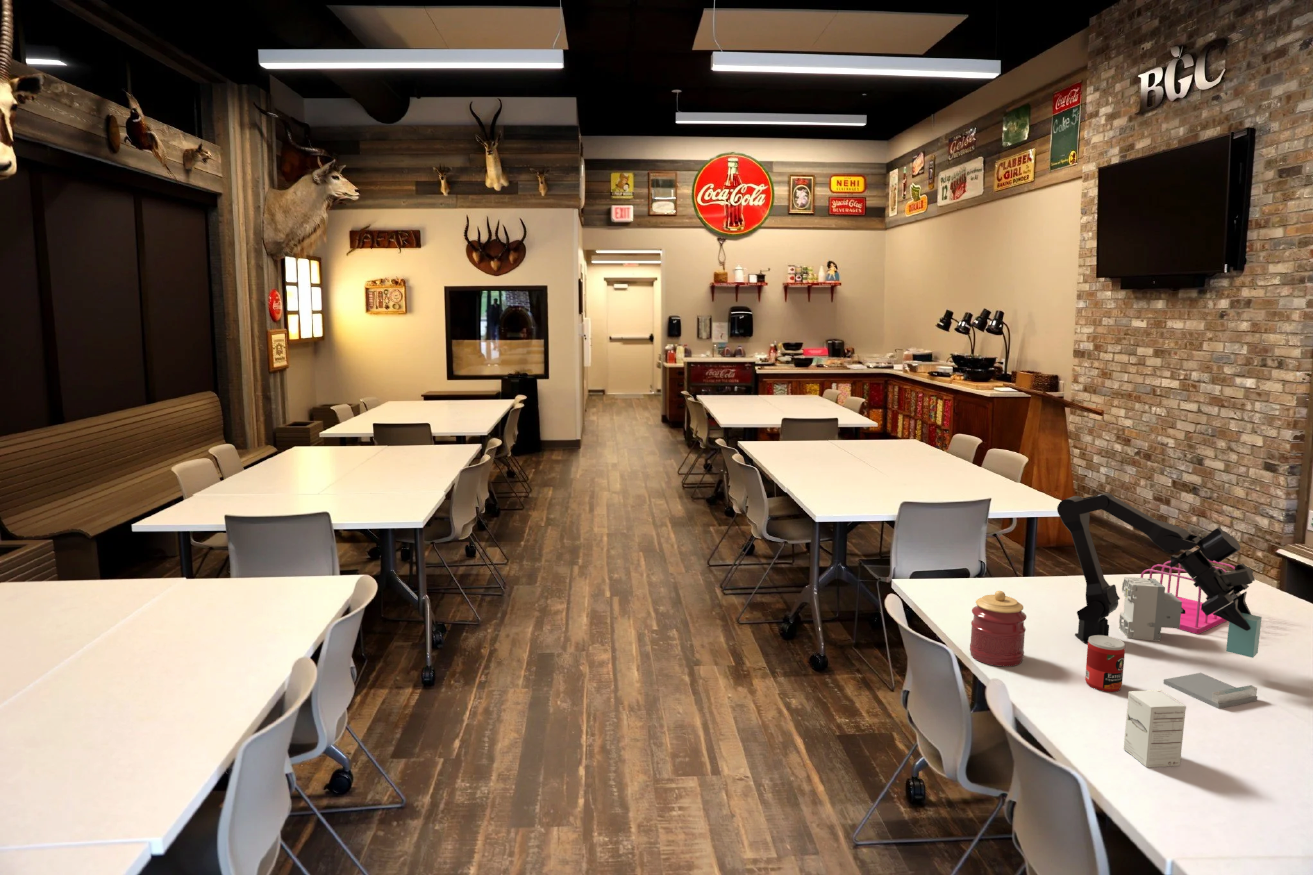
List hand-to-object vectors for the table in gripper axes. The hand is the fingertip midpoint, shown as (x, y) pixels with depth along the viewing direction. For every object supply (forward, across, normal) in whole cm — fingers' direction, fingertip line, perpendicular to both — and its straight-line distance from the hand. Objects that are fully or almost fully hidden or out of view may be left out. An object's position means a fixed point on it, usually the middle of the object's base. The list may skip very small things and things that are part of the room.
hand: (1251, 627), depth 206 cm
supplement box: (+7, -57, +12) cm, 59 cm away
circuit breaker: (-8, +16, +28) cm, 33 cm away
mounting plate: (+6, -14, +12) cm, 20 cm away
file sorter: (-7, +39, +26) cm, 48 cm away
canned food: (-6, -28, +26) cm, 39 cm away
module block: (+4, 0, +6) cm, 7 cm away
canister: (-24, -30, +43) cm, 58 cm away
